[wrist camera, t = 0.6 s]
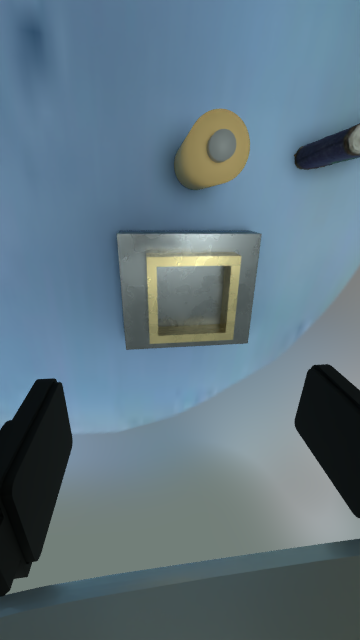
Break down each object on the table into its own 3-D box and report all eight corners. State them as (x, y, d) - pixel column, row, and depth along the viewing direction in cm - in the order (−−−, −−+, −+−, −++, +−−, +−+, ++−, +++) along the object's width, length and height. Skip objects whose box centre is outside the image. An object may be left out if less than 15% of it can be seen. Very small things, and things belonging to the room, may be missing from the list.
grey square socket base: (119, 230, 32) (114, 236, 26) (248, 230, 33) (271, 236, 28) (127, 335, 37) (124, 360, 31) (237, 330, 39) (254, 352, 33)
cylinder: (174, 138, 29) (191, 101, 18) (219, 140, 29) (259, 105, 19) (174, 189, 31) (189, 181, 20) (216, 190, 31) (251, 183, 21)
